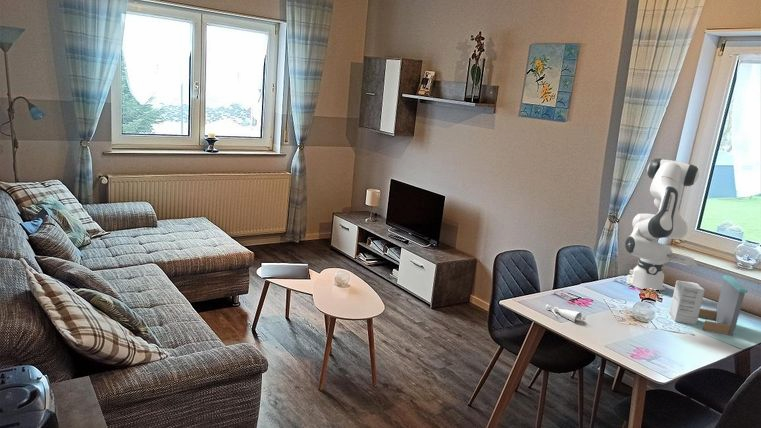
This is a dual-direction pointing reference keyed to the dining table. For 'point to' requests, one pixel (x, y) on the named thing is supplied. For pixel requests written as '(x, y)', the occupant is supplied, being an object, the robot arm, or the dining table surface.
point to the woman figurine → (566, 313)
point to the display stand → (725, 308)
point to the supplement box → (686, 302)
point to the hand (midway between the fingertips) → (688, 262)
